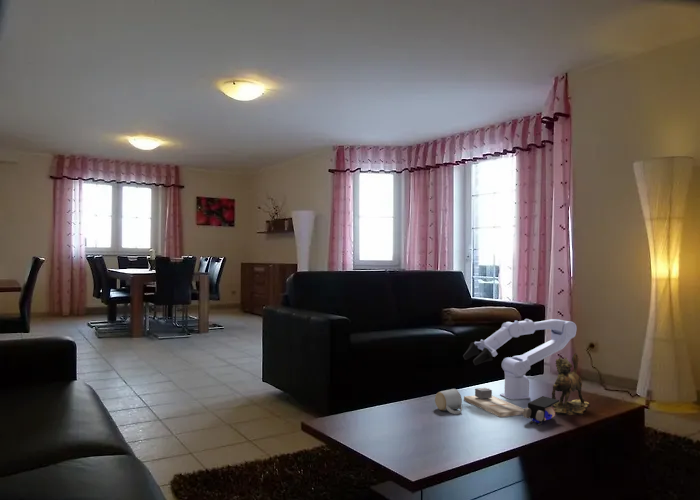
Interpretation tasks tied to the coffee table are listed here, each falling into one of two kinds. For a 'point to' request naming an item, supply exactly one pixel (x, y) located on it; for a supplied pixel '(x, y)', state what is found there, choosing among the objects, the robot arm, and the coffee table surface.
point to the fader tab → (483, 393)
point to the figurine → (568, 388)
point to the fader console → (495, 406)
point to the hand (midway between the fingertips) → (469, 360)
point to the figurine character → (540, 409)
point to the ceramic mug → (449, 401)
